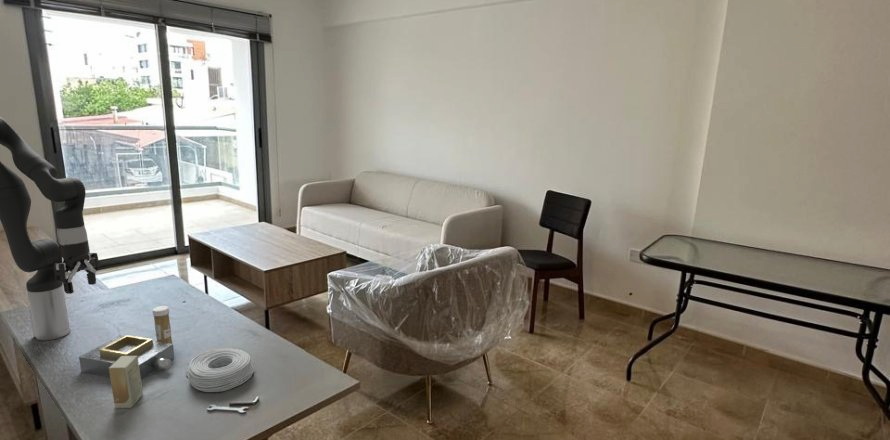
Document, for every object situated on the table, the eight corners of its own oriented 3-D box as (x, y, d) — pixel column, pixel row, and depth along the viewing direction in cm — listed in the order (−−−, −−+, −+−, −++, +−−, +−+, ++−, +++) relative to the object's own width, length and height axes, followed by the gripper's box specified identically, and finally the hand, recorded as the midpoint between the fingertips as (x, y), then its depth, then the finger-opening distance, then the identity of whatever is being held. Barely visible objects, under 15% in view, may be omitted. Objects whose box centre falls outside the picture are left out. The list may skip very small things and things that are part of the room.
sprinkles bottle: (173, 346, 158) (169, 309, 155) (157, 350, 155) (152, 312, 152) (172, 340, 162) (168, 304, 158) (156, 344, 159) (152, 306, 156)
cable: (183, 373, 144) (181, 355, 142) (244, 356, 154) (243, 339, 152) (195, 402, 130) (193, 382, 129) (260, 382, 141) (259, 363, 139)
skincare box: (127, 394, 132) (121, 354, 129) (143, 394, 132) (138, 354, 129) (113, 409, 126) (107, 367, 123) (130, 408, 126) (125, 367, 123)
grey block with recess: (81, 372, 142) (77, 350, 140) (121, 349, 155) (119, 329, 153) (149, 384, 137) (146, 362, 135) (185, 360, 150) (183, 339, 148)
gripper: (81, 235, 159) (89, 281, 163) (41, 245, 145) (50, 296, 149) (102, 235, 158) (109, 282, 162) (63, 246, 145) (72, 296, 148)
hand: (81, 288), depth 155 cm, fingers open, 8 cm apart
